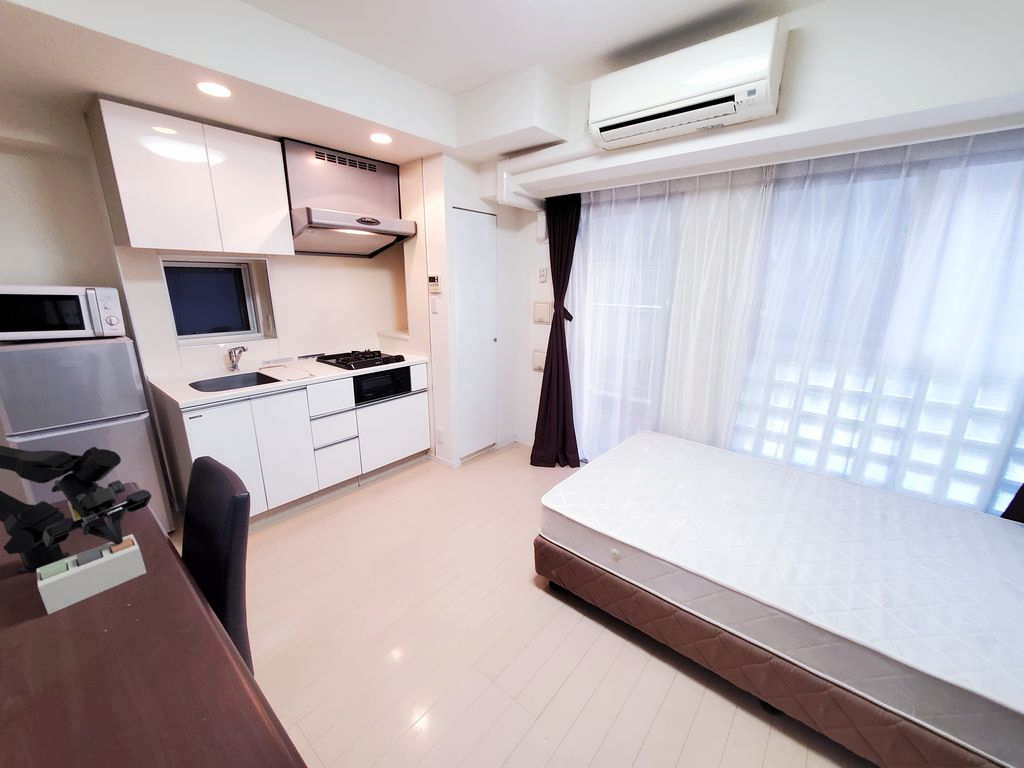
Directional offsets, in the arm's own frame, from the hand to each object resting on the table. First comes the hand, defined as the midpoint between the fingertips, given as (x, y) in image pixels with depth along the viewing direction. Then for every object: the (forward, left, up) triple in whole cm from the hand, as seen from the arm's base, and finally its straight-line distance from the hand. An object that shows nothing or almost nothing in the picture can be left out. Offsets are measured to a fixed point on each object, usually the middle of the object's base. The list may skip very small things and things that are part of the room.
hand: (120, 542), depth 96 cm
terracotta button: (0, 0, -3) cm, 3 cm away
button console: (-4, -4, -8) cm, 10 cm away
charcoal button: (-4, -4, -2) cm, 6 cm away
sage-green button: (-7, -8, -2) cm, 11 cm away
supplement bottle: (-33, +24, -8) cm, 42 cm away
